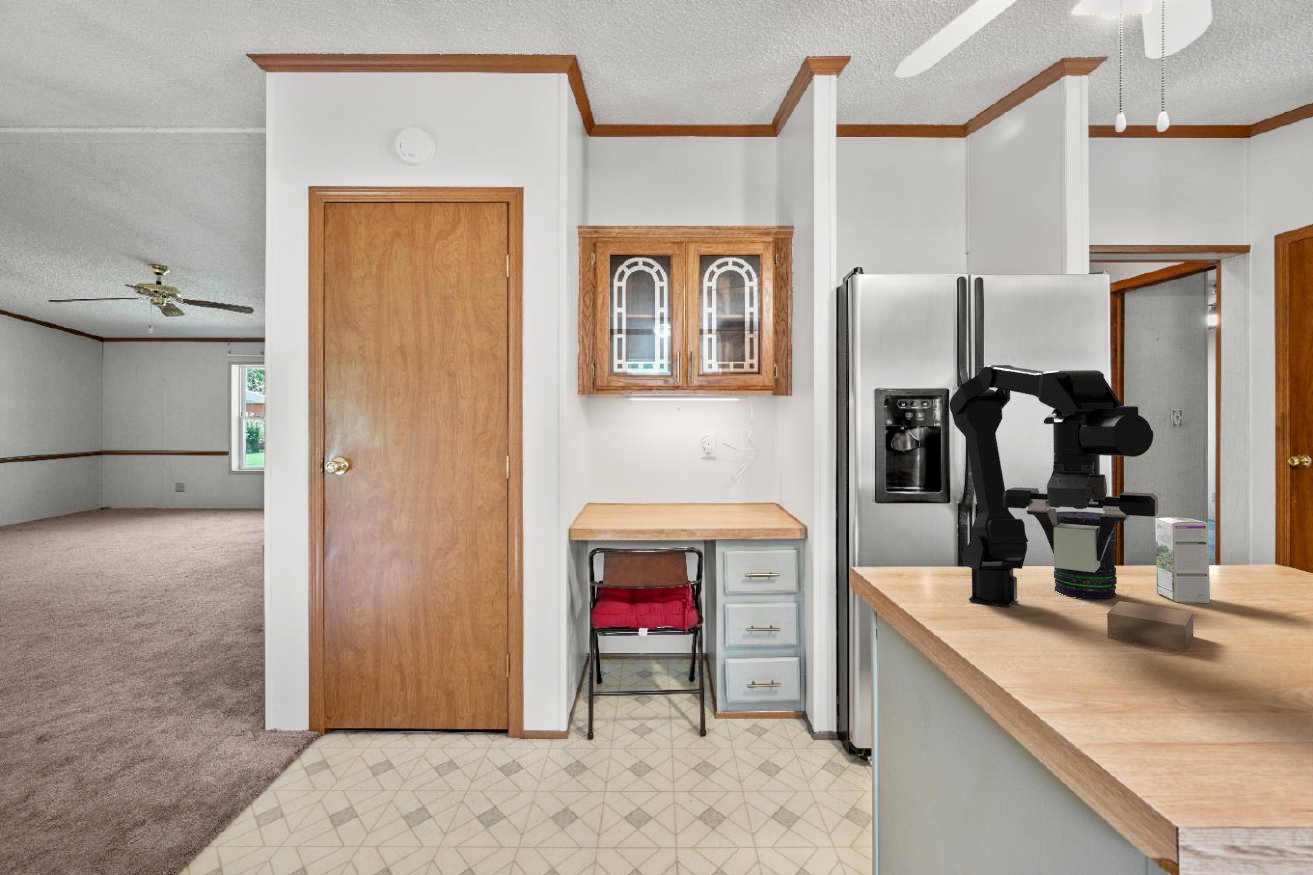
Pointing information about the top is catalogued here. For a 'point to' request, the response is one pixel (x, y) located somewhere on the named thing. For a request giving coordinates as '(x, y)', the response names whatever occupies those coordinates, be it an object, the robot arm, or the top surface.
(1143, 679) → the top surface
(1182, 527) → the syrup box
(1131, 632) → the block
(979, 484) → the robot arm
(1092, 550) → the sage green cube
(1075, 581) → the storage jar
